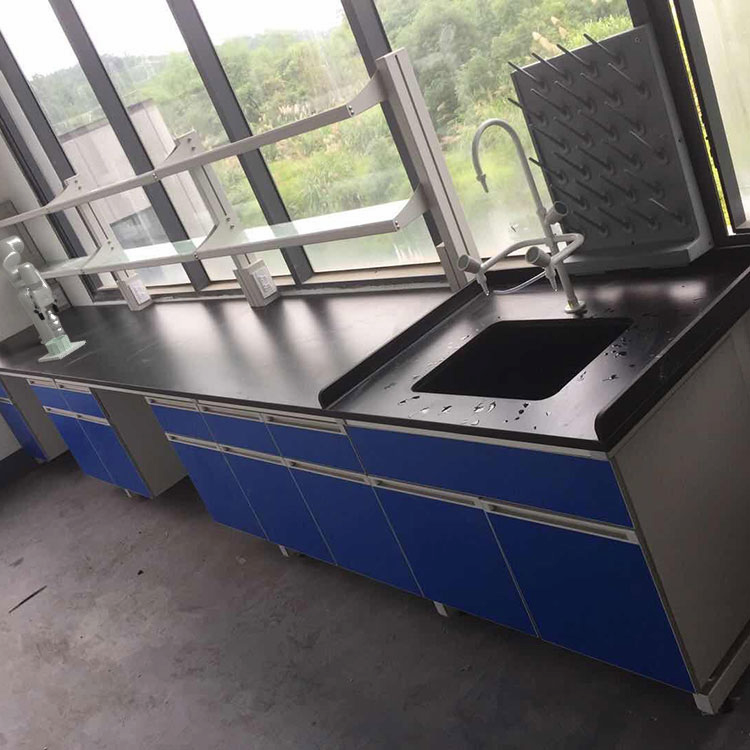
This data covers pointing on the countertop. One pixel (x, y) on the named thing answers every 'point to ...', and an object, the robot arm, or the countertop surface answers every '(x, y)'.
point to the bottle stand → (60, 348)
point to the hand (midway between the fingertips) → (50, 316)
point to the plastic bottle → (54, 324)
